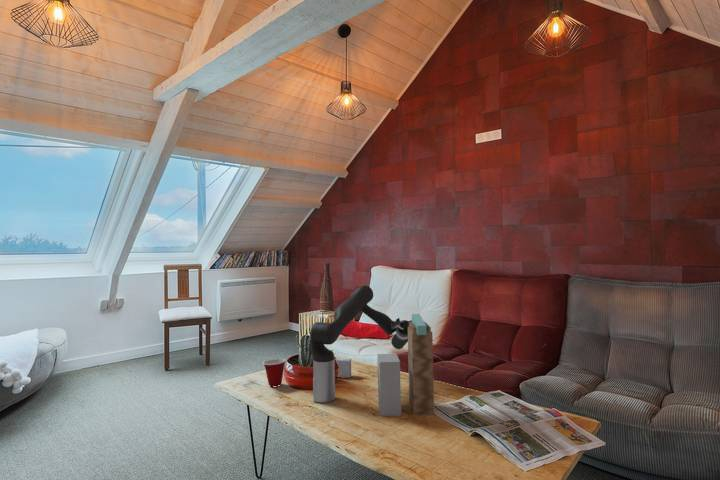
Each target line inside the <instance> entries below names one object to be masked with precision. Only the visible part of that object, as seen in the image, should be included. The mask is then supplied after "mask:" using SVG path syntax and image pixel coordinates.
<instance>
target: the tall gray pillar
mask: <svg viewBox="0 0 720 480" xmlns="http://www.w3.org/2000/svg"><path fill="white" fill-rule="evenodd" d="M376 355H377V391H378V392H377V393H378V395H377V396H378V398H377V400H378V401H377V402H378V409H379V414H380V417H392V416H393V417H394V416H395V417H397V416H398V417H399V416H402V391H401V387H402V386H401V385H402V384H401V361H400V359H399V356H398V354H397V353H378V354H376Z"/></svg>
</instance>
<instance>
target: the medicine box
mask: <svg viewBox="0 0 720 480" xmlns="http://www.w3.org/2000/svg"><path fill="white" fill-rule="evenodd" d="M336 359H337V362H338V366H339V377H341V378H342V379H343V378H345V379H346V378H351V377H352V358H336Z"/></svg>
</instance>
